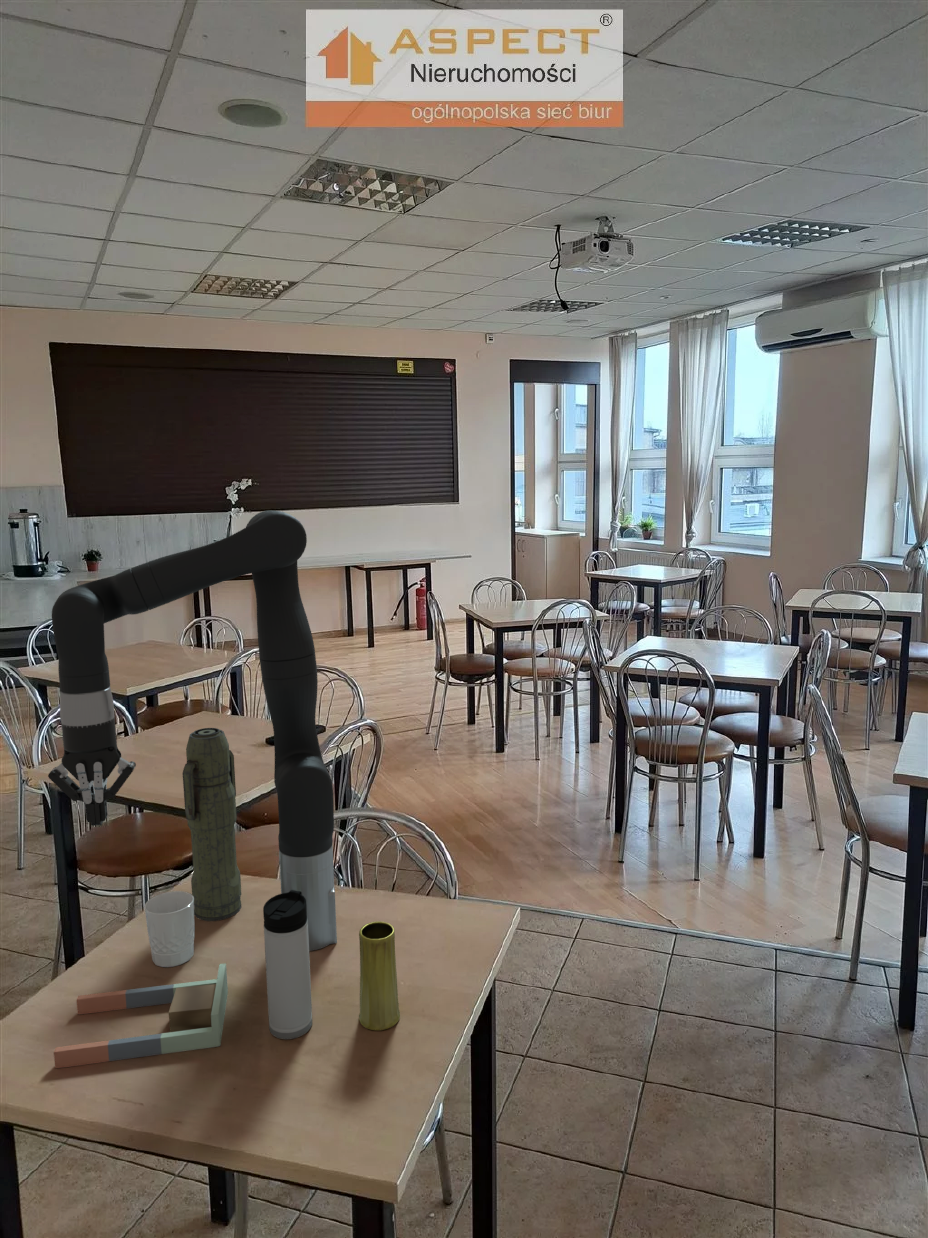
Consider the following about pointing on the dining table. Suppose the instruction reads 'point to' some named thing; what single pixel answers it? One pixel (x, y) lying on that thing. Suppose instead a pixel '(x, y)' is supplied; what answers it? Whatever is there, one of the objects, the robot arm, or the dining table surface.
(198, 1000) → the walnut block
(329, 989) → the dining table surface
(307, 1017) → the travel mug
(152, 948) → the white cup
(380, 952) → the vase
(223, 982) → the channel
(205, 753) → the thermos
